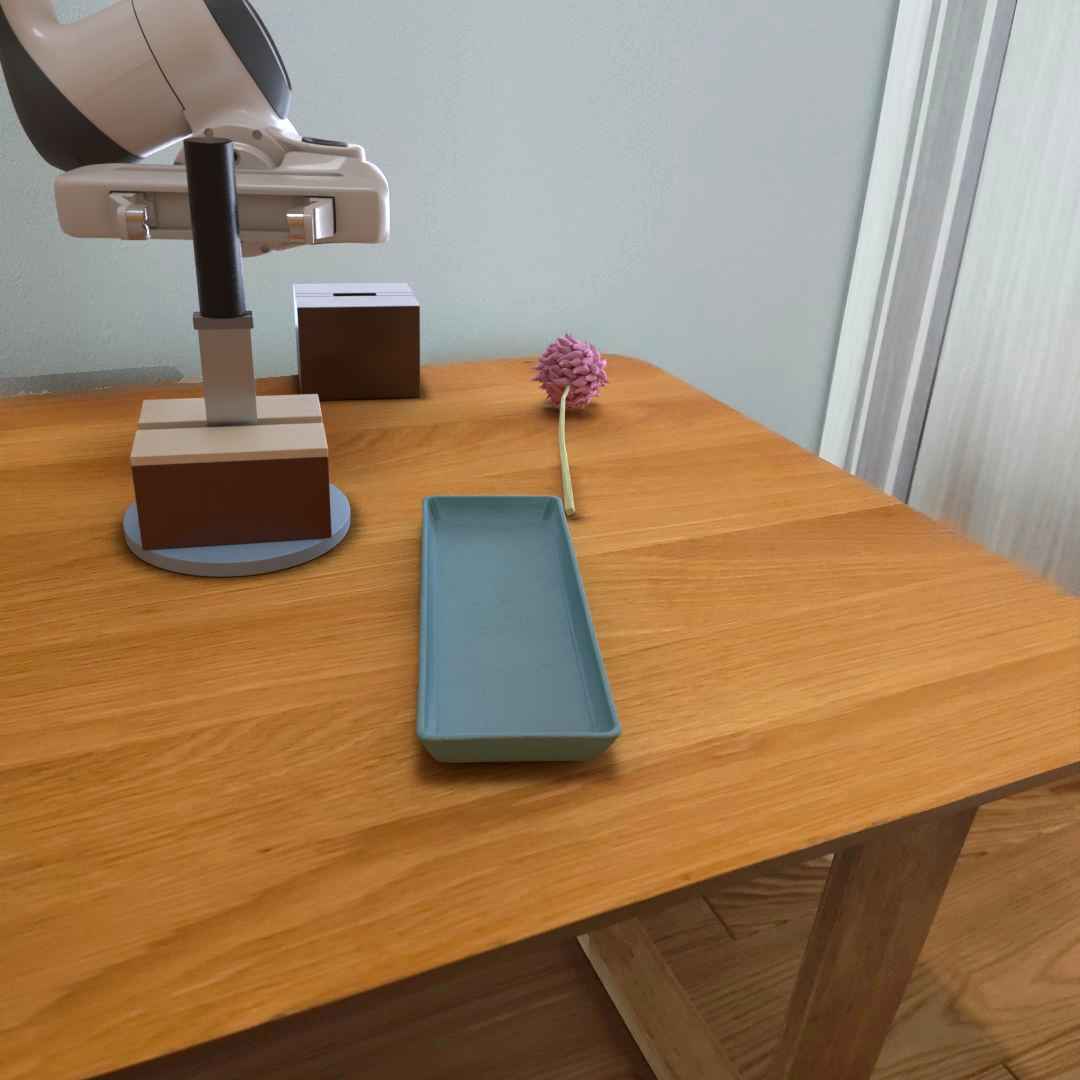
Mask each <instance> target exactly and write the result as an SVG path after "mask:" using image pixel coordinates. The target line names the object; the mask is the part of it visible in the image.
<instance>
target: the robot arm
mask: <svg viewBox="0 0 1080 1080" xmlns="http://www.w3.org/2000/svg"><path fill="white" fill-rule="evenodd" d="M0 67H1V69H2V73H3V77H4V80H5V84H6V87H7V91H8V95H9V97H10V100H11V103H12V105H13V109H14V111H15V113H16V116H17V119H18V121H19V124H20V126H21V128H22V130H23V131H24V133H25V135H26V137H27V138H28V140H29V142H30V143H31V145H32V146H33V148H34V149H35V150H36V151H37V153H38V154H39V156H40V157H41V158H42V159H43V161H45V162H46V163H47V164H49V165H50V166H52V167H54V168H55V169H57V170H60V171H63V172H62V173H61V174H58V175H57V176H56V177H55V179H54V182H53V190H54V191H53V192H54V199H55V200H54V201H55V207H56V215H57V219H58V223H59V226H60V230H61V231H62V233H63V234H66V235H67V236H70V237H73V238H76V239H77V238H78V239H120V240H121V241H148V240H175V241H177V240H178V241H179V240H182V241H193V237H192V226H191V216H190V206H189V195H188V185H187V175H186V164H185V154H184V144H183V145H182V146H181V147H180V149H179V150H178V152H177V154H176V156H175V158H174V160H173V164H159V163H158V164H157V163H141V162H143V161H145V160H146V159H147V157H148V156H151V155H152V154H154V153H157V152H158V151H161V150H163V149H166V148H168V147H170V146H172V145H174V144H176V143H178V142H181V141H183V140H184V139H186V138H190V137H219V138H227V139H230V140H232V141H233V149H234V162H235V175H236V188H237V201H238V214H239V227H240V240H241V253H242V259H244V258H247V259H248V258H256V257H259V256H263V255H266V254H269V253H271V252H273V251H275V252H276V251H277V252H280V251H285V250H289V249H293V248H297V247H303V246H307V245H308V246H314V245H325V244H368V245H369V244H370V245H378V244H384V243H386V242H388V241H389V239H390V233H391V231H390V229H391V228H390V226H391V225H390V221H391V217H390V211H391V209H390V190H389V184H388V181H387V178H386V177H385V175H384V174H383V172H382V170H381V169H380V168H379V167H378V166H377V165H375V164H374V163H372V162H371V161H368V160H366V158H367V157H366V152H365V148H364V147H363V146H361V145H360V144H357V143H347V142H345V141H338V140H330V139H322V138H317V137H310V136H303V135H300V134H298V132H297V130H296V129H295V127H294V126H293V124H292V123H291V121H289V119H288V118H287V117H288V115H289V111H290V107H291V100H292V91H293V88H292V83H291V80H290V76H289V74H288V71H287V68H286V66H285V64H284V61H283V58H282V55H281V54H280V51H279V49H278V47H277V45H276V43H275V41H274V39H273V37H272V35H271V33H270V32H269V30H268V28H267V26H266V25H265V23H264V21H263V19H262V18H261V16H260V15H259V13H258V12H257V10H256V9H255V7H254V6H253V4H252V3H251V2H250V0H120V1H117V2H115V3H113V4H111V5H109V6H107V7H105V8H103V9H100V10H99V11H96V12H94V13H92V14H89V15H88V16H85V17H84V18H81V19H80V20H79V19H78V20H77V21H75V22H72V23H67V24H63V23H61V22H59V20H58V17H57V14H56V11H55V8H54V5H53V3H52V0H0Z"/></svg>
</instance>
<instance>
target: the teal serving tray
mask: <svg viewBox="0 0 1080 1080" xmlns="http://www.w3.org/2000/svg"><path fill="white" fill-rule="evenodd" d="M566 516H567V515H566V512H565V508H564V505H563V501H562V498H561V497H559V496H557V495H511V494H510V495H505V494H504V495H494V494H493V495H492V494H491V495H488V494H486V495H483V494H482V495H479V494H474V495H460V494H459V495H458V494H456V495H455V494H454V495H453V494H452V495H449V494H448V495H447V494H445V495H443V494H442V495H437V494H436V495H426V496H424V497H423V498H421V551H420V552H421V554H420V555H421V556H420V585H419V586H420V589H419V591H420V592H419V618H418V619H419V621H418V622H419V623H418V625H419V629H418V662H417V663H418V664H417V665H418V666H417V668H418V670H417V672H418V673H417V692H416V693H417V696H416V719H415V725H414V726H415V727H414V732H415V733H414V734H415V735H416V738H417V739H418V740H419V742H420V743H421V745H422V746H423V748H424V749H425V750H426V751H427V752H428V754H430V755H431V756H432V758H433V759H434V760H436V761H437V762H438V763H439V762H440V763H444V764H449V763H450V764H453V763H455V764H461V763H465V764H466V763H503V762H504V763H508V762H509V763H510V762H513V763H514V762H565V761H566V762H567V761H569V762H571V761H572V762H574V761H575V762H577V761H579V762H581V761H582V762H583V761H592V760H595V759H597V758H598V757H599V756H601V755H602V754H603V753H604V752H605V751H607V749H608V748H610V747H611V746H612V745H613V744H614V743H615V742H616V741H617V739H618V738H619V737H620V736H621V735H622V734H623V728H622V723H621V721H620V717H619V714H618V711H617V707H616V704H615V700H614V696H613V693H612V690H611V689H612V688H611V685H610V681H609V678H608V673H607V670H606V666H605V663H604V660H603V655H602V651H601V648H600V644H599V641H598V637H597V633H596V630H595V626H594V621H593V618H592V614H591V610H590V607H589V601H588V598H587V594H586V590H585V587H584V582H583V578H582V575H581V571H580V568H579V563H578V559H577V556H576V551H575V548H574V544H573V540H572V536H571V532H570V528H569V524H568V520H567V518H566Z"/></svg>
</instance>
